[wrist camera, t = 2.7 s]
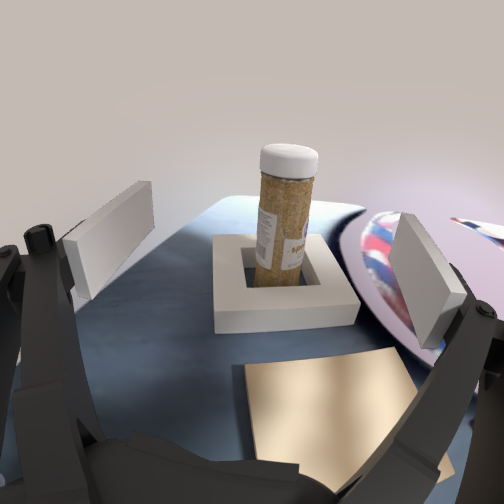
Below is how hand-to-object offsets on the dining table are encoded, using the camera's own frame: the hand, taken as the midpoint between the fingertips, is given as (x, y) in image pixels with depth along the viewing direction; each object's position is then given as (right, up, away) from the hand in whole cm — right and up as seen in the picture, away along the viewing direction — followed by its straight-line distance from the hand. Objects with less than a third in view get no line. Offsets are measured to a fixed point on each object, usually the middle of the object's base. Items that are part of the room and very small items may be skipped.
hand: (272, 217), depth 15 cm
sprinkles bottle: (+1, -5, +15) cm, 16 cm away
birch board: (+5, -13, +1) cm, 14 cm away
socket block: (+1, -5, +15) cm, 16 cm away
